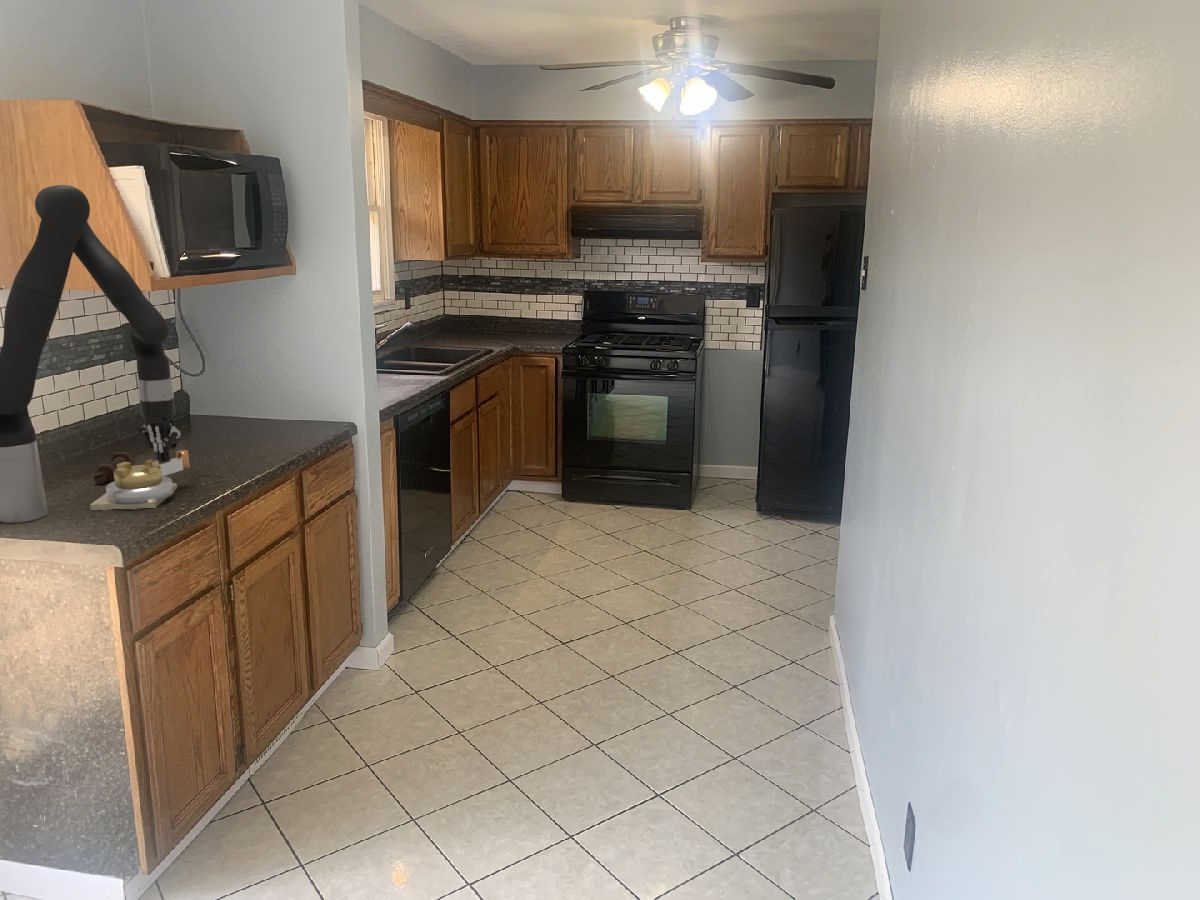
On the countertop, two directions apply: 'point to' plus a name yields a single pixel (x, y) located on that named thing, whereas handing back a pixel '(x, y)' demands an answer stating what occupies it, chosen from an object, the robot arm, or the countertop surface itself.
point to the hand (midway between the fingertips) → (164, 466)
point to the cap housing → (134, 496)
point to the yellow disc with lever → (149, 471)
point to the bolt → (111, 467)
